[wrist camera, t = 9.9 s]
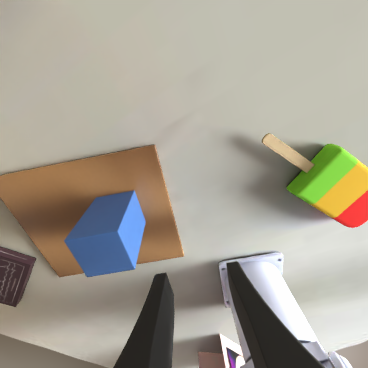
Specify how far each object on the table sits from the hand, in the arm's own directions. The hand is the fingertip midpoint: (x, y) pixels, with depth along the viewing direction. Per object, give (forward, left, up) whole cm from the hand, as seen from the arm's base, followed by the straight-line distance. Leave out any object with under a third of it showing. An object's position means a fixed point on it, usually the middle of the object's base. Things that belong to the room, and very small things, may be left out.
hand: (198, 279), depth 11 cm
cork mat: (-1, +10, -9) cm, 14 cm away
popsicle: (0, -13, -10) cm, 16 cm away
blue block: (0, +7, -9) cm, 11 cm away
